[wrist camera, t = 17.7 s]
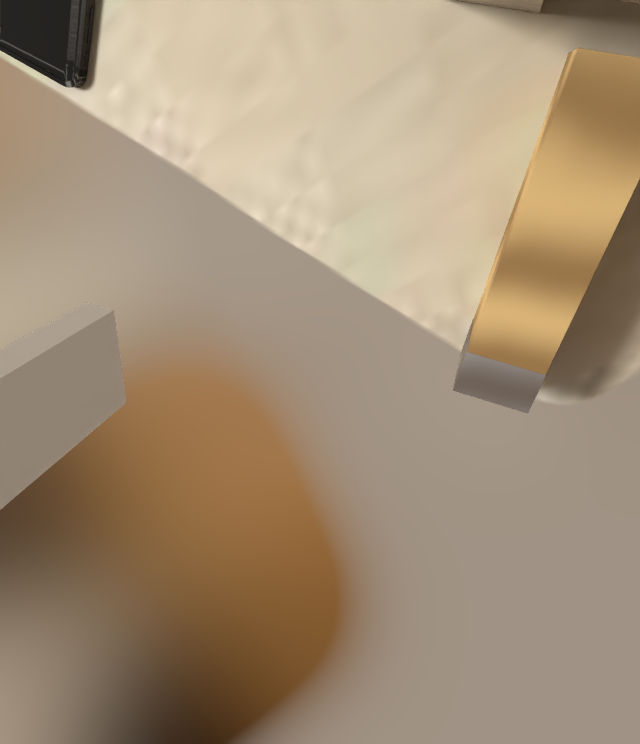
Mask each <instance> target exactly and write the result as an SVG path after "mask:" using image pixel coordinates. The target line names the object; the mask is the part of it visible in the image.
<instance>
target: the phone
mask: <svg viewBox="0 0 640 744" xmlns="http://www.w3.org/2000/svg"><path fill="white" fill-rule="evenodd" d="M94 5H95V0H0V50H1V51H2V52H4V53H6V54H8V55H10V56H11V57H13V58H15V59H17V60H18V61H20V62H22V63H24V64H25V65H27V66H29V67H31V68H33V69H34V70H36V71H38V72H40V73H41V74H43V75H45V76H47V77H49V78H50V79H52V80H54V81H56V82H57V83H59V84H61V85H63V86H65V87H80V86H82V85H83V84H84V83H85V81H86V77H87V70H88V61H89V52H90V42H91V33H92V23H93V14H94Z"/></svg>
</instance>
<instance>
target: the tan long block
mask: <svg viewBox="0 0 640 744" xmlns="http://www.w3.org/2000/svg"><path fill="white" fill-rule="evenodd" d="M639 179H640V58H637V57H631V56H625V55H619V54H613V53H607V52H601V51H595V50H589V49H582V48H577V49H575V50H573V51H572V52H570V53H569V54H568V57H567V60H566V62H565V65H564V68H563V71H562V74H561V76H560V79H559V82H558V85H557V88H556V90H555V93H554V96H553V99H552V102H551V104H550V107H549V110H548V113H547V116H546V118H545V121H544V124H543V127H542V130H541V132H540V135H539V138H538V141H537V143H536V146H535V149H534V152H533V155H532V157H531V160H530V163H529V166H528V169H527V171H526V174H525V177H524V180H523V183H522V185H521V188H520V191H519V194H518V197H517V199H516V202H515V205H514V208H513V211H512V213H511V216H510V219H509V222H508V225H507V227H506V230H505V233H504V236H503V239H502V241H501V244H500V247H499V250H498V252H497V255H496V258H495V261H494V264H493V266H492V269H491V272H490V275H489V278H488V280H487V283H486V286H485V289H484V292H483V294H482V297H481V300H480V303H479V306H478V308H477V311H476V314H475V317H474V319H473V321H472V324H471V327H470V329H469V332H468V335H467V338H466V341H465V343H464V346H463V349H462V352H461V355H460V360H459V365H458V369H457V374H456V379H455V383H454V388H453V390H454V391H457V392H460V393H463V394H466V395H470V396H473V397H476V398H479V399H483V400H486V401H489V402H492V403H495V404H499V405H502V406H506V407H508V408H512V409H515V410H518V411H521V412H525V413H528V412H529V410H530V408H531V406H532V403H533V402H534V399H535V397H536V395H537V393H538V391H539V389H540V387H541V385H542V383H543V381H544V379H545V377H546V373H547V371H548V369H549V367H550V365H551V363H552V360H553V358H554V356H555V354H556V352H557V350H558V348H559V346H560V344H561V342H562V340H563V338H564V335H565V333H566V331H567V329H568V327H569V325H570V323H571V321H572V319H573V317H574V315H575V313H576V310H577V308H578V306H579V304H580V302H581V300H582V298H583V296H584V294H585V292H586V290H587V287H588V285H589V283H590V281H591V279H592V277H593V275H594V273H595V271H596V269H597V267H598V265H599V262H600V260H601V258H602V256H603V254H604V252H605V250H606V248H607V246H608V244H609V242H610V240H611V237H612V235H613V233H614V231H615V229H616V227H617V225H618V223H619V221H620V219H621V217H622V214H623V212H624V210H625V208H626V206H627V204H628V202H629V200H630V198H631V196H632V194H633V192H634V189H635V187H636V185H637V183H638V181H639Z"/></svg>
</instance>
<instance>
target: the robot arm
mask: <svg viewBox="0 0 640 744" xmlns="http://www.w3.org/2000/svg"><path fill="white" fill-rule="evenodd" d="M125 403H126V398H125V390H124V383H123V376H122V368H121V361H120V353H119V346H118V338H117V331H116V323H115V316H114V310H112V309H108V308H105V307H101V306H98V305H95V304H91V303H88V302H86V303H84V304H82V305H80V306H78V307H77V308H75V309H73V310H71V311H69V312H67V313H66V314H64V315H62V316H60V317H58V318H57V319H55V320H53V321H51V322H49V323H47V324H46V325H44V326H42V327H40V328H38V329H36V330H34V331H33V332H31V333H29V334H27V335H25V336H23V337H22V338H20V339H18V340H16V341H14V342H13V343H11V344H9V345H7V346H5V347H4V348H2V349H0V509H1V508H3V507H4V506H5V505H6V504H7V503H9V501H11V500H12V499H13V498H14V497H16V496H17V495H18V494H19V493H20V492H22V491H23V490H24V489H25V488H26V487H27V486H28V485H30V484H31V483H32V482H33V481H34V480H36V479H37V478H38V477H39V476H40V475H41V474H42V473H44V472H45V471H46V470H47V469H49V468H50V467H51V466H52V465H53V464H54V463H56V462H57V461H58V460H59V459H60V458H62V457H63V456H64V455H65V454H66V453H67V452H69V451H70V450H71V449H72V448H73V447H74V446H76V445H77V444H78V443H79V442H80V441H82V440H83V439H84V438H85V437H86V436H87V435H89V434H90V433H91V432H92V431H93V430H94V429H96V428H97V427H98V426H99V425H100V424H102V423H103V422H104V421H105V420H106V419H107V418H109V417H110V416H111V415H112V414H113V413H115V412H116V411H117V410H118V409H119V408H120V407H122V406H123V405H124V404H125Z"/></svg>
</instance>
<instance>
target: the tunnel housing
mask: <svg viewBox="0 0 640 744" xmlns="http://www.w3.org/2000/svg"><path fill="white" fill-rule="evenodd" d="M458 1H464V2H471V3H477V4H484V5H490V6H496V7H503V8H509V9H516V10H522V11H529V12H535V13H540V10H541V7H542V4H543V0H458ZM620 1H626V2H633V3H640V0H620Z"/></svg>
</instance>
